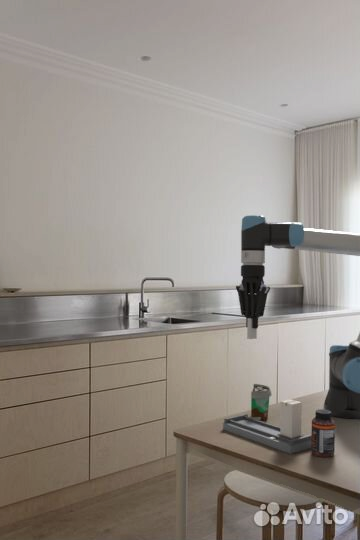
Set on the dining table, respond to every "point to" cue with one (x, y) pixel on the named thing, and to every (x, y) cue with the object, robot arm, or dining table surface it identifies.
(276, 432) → the board
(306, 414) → the dining table surface
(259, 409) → the food container
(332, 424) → the supplement bottle
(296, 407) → the fader tab
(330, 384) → the robot arm
